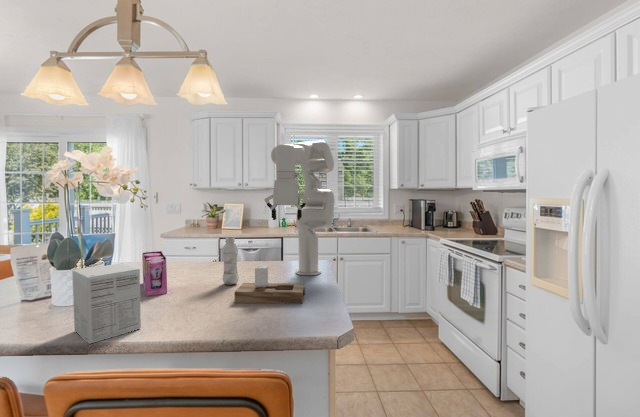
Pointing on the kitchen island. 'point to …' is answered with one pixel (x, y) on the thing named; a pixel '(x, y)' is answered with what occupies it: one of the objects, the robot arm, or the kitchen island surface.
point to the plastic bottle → (230, 262)
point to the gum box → (154, 273)
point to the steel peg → (261, 277)
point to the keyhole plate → (271, 293)
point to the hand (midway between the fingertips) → (286, 219)
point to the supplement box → (106, 301)
